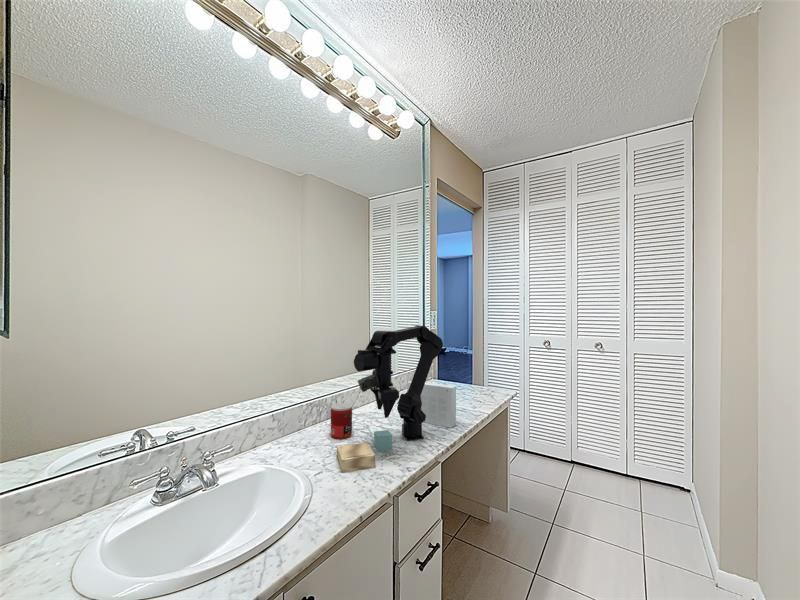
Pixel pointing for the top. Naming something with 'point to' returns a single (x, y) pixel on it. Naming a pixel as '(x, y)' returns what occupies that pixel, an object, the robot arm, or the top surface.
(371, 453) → the bamboo box
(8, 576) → the top surface
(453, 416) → the skincare box
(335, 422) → the canned food
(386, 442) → the teal cube
